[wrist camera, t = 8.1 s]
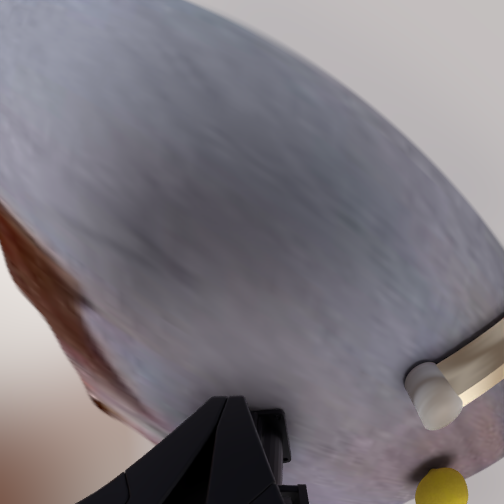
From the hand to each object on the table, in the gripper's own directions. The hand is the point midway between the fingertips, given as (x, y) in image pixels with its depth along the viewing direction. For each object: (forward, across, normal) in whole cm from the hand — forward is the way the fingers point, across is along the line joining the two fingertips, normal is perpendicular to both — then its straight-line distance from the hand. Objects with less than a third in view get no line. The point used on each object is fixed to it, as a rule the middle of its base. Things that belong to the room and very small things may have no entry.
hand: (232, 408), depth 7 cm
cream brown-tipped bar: (+12, -15, +9) cm, 21 cm away
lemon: (+12, -15, +25) cm, 31 cm away
